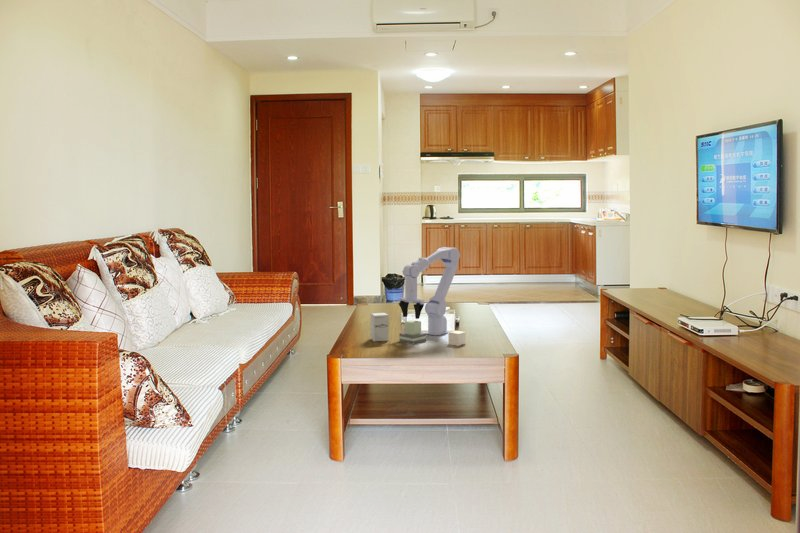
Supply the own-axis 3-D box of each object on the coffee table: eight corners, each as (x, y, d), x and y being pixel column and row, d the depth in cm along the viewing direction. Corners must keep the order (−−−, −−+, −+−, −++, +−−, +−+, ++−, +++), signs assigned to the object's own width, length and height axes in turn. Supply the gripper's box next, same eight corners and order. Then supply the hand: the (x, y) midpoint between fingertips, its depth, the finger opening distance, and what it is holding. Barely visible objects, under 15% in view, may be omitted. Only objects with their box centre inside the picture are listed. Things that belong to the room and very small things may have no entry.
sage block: (411, 331, 326) (411, 320, 326) (421, 333, 323) (421, 321, 322) (404, 333, 322) (404, 321, 322) (413, 335, 319) (413, 323, 318)
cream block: (455, 342, 320) (455, 330, 319) (465, 343, 316) (465, 332, 316) (448, 344, 316) (448, 332, 315) (458, 345, 312) (458, 333, 311)
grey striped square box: (412, 338, 329) (412, 330, 329) (426, 341, 323) (426, 333, 323) (399, 341, 323) (399, 333, 322) (413, 344, 317) (413, 336, 316)
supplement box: (373, 341, 321) (373, 315, 320) (370, 338, 329) (370, 313, 327) (389, 340, 323) (388, 314, 322) (385, 337, 330) (384, 312, 329)
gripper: (394, 289, 329) (394, 317, 331) (417, 292, 320) (417, 320, 321) (403, 287, 334) (404, 315, 336) (426, 290, 325) (427, 318, 326)
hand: (411, 317), depth 329 cm, fingers open, 7 cm apart
